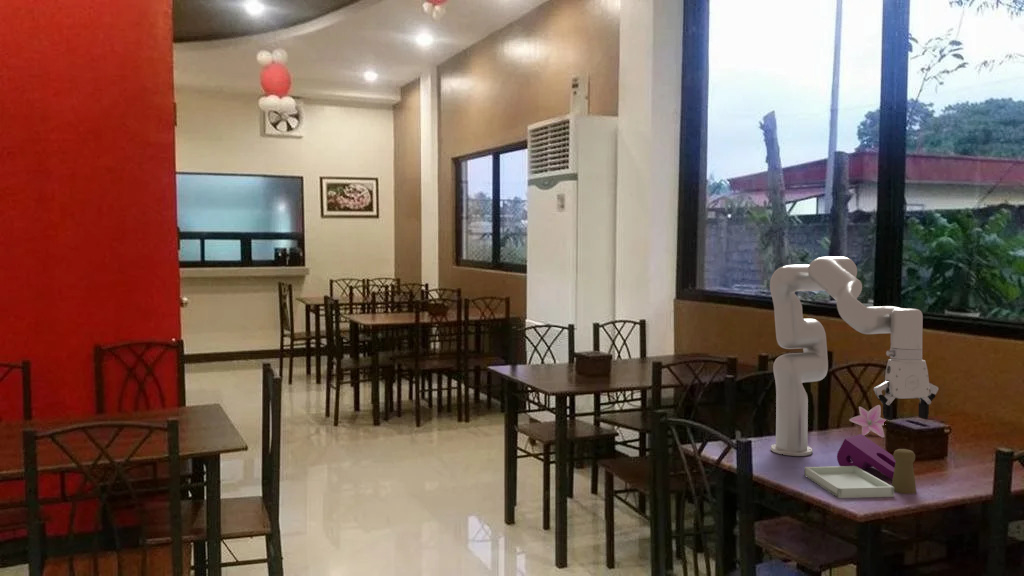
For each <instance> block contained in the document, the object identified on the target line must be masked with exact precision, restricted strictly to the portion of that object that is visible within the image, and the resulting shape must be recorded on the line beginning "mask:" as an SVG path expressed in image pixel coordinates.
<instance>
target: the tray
mask: <svg viewBox="0 0 1024 576" xmlns="http://www.w3.org/2000/svg"><path fill="white" fill-rule="evenodd" d="M803 474H804V475H805V476H804V477H806V476H807V477H808V478H807V477H806V478H807V479H808V480H810V479H811V480H810V481H812V482H813V481H814V482H813V483H815V484H816V483H817V484H816V485H818V486H819V485H820V486H819V487H821V488H822V487H823V488H822V489H823V490H825V489H826V492H829V493H830V494H831V493H832V494H831V495H833V496H834V495H835V497H836V498H837V499H850V498H853V499H855V498H857V499H858V498H860V499H861V498H889V497H890V498H892V497H895V491H894V487H893V486H892V484H889V483H887V482H886V481H884V480H882V479H880V478H878V477H876V475H875V476H874V475H873V474H871V473H870V472H868V471H866V470H864V469H863V470H862V469H860V468H858V467H857V466H840V465H839V466H838V465H834V466H804V473H803Z"/></svg>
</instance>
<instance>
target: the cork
mask: <svg viewBox="0 0 1024 576" xmlns="http://www.w3.org/2000/svg"><path fill="white" fill-rule="evenodd" d="M893 457H894V459H895V461H896V462H895V468H894V474H893V479H892V481H891V486H893V487H894V493H898V494H903V495H904V494H905V495H910V494H911V495H913V494H916V493H917V485H916V480H915V479H916V478H915V470H914V469H915V468H914V462H915V460H916V454H915V452H914V451H913V450H910V449H907V448H898V449H895V450H894V451H893Z"/></svg>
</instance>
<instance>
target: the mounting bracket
mask: <svg viewBox="0 0 1024 576" xmlns="http://www.w3.org/2000/svg"><path fill="white" fill-rule="evenodd" d="M836 460H837V463H838V465H839V466H857V467H858V468H860V469H862V470H864V469H867V470H868V469H870V468H872V467H873V468H874V469H876V470H877V471H879V472H880V473H881V474H883V475H884V476H886V477H887V478H890V479H892V480H893V474H894V468H895V462H896V461H895V459H894V457H893V455H892V453H890V452H888V451H887V450H885V448H883V447H882V446H880V445H878V444H877V443H875V442H874V441H872V440H871V439H869V438H868V437H867V436H865V435H862V433H860V434H858V435H854V436H850V437H847V438H844V440H843V442H842V444H841V446H840V447H839V449H838V451H837V454H836Z"/></svg>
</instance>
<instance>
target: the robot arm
mask: <svg viewBox="0 0 1024 576" xmlns="http://www.w3.org/2000/svg"><path fill="white" fill-rule="evenodd" d="M857 275H858V268H857V265H856V263H855V262H854V260H852V259H850V258H849V257H846V256H821V257H820V256H819V257H817V258H815V259H813V260H812V261H811V262H810V263H809V264H787V265H783V266H780V267H778V268H777V269H775V271H774V272H773V273H772V275H771V276H770V280H769V281H770V282H769V289H770V294H771V298H772V304H773V311H774V325H775V338H776V343H777V345H778V346H779V347H780V348H782V349H787V350H795V349H796V350H797V349H798V350H799V349H802V351H803V352H789V353H788V352H787V353H783V354H782V355H779V356H778V357H777V358H776V359H775V360H774V362H773V365H772V366H773V368H772V369H773V370H772V371H773V372H772V373H773V376H774V380H775V381H774V383H775V394H776V395H775V400H776V401H775V403H776V404H775V407H776V409H775V411H776V412H775V415H776V416H775V417H776V418H775V443H774V444H771V445H770V451H772V452H773V453H775V454H779V455H782V454H783V455H784V456H790V457H791V456H793V457H806V456H810V455H812V454H813V452H814V451H813V448H812V447H810V446H809V445H808V438H809V437H808V434H809V433H808V432H809V431H808V430H809V429H808V427H809V424H808V422H809V421H808V419H809V417H808V416H809V415H808V414H809V411H808V410H809V404H808V403H809V399H808V398H809V397H808V393H807V392H806V389H805V387H804V385H803V383H804V384H805V383H813V382H820V381H822V380H823V379H825V377H827V374H828V370H829V359H828V346H827V344H828V343H827V334H826V331H825V328H824V326H823V325H822V323H821V322H820V321H819V320H817V319H815V318H804V316H803V315H804V314H803V304H802V303H801V300H800V297H798V295H797V294H796V292H819V291H824V292H825V293H827V294H828V295H829V296H831V297H832V298H833V299H834V300H835V301H836V310H837V312H838V315H839V316H840V318H841V319H842V320H843V321H844V322H845V323H846V324H848V326H850V327H851V328H852V329H854V330H855V331H856V332H859V333H861V334H864V335H878V334H890V348H889V350H886V352H885V354H886V356H887V357H889V359H888V360H887V364H886V368H885V373H884V374H885V376H884V381H883V382H882V383H880V384H878V385H876V386H874V387H873V389H872V390H873V392H874V394H875V396H876V398H877V399H878V400H879V401H880V403H881V404H882V415H883V419H886V420H888V421H892V420H893V417H894V415H893V412H894V410H893V409H894V408H893V407H894V406H893V405H892V403H893V401H894V400H895V399H905V400H906V399H919V401H920V402H918V418H921V419H923V420H928V419H929V415H930V412H929V411H930V410H929V409H930V405H931V404H932V401H933V400H934V399H935V397H936V395H937V393H938V391H939V388H940V387H938V386H937V385H934V384H933V383H931V382H930V380H929V370H928V365H927V363H926V360H925V359H923V329H924V328H923V326H924V325H923V320H924V317H923V312H922V311H921V310H920V309H918V308H910V307H907V308H905V307H899V306H893V305H882V306H881V305H879V306H867V305H865V304H863V303H862V302H861V301H859V300H858V298H859V297H860V295H861V293H862V290H863V283H862V281H861V280H860V279H858V278H857ZM883 391H884V393H885V394H883V393H882V392H883Z"/></svg>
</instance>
